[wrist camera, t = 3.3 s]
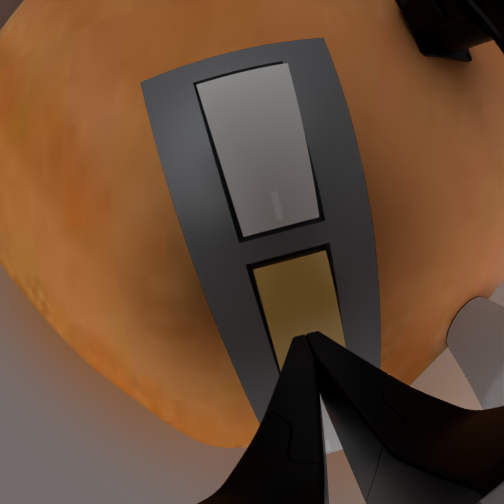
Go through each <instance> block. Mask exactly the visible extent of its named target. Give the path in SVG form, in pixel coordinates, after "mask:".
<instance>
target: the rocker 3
mask: <svg viewBox="0 0 504 504" xmlns="http://www.w3.org/2000/svg"><path fill="white" fill-rule="evenodd" d="M320 400H321V409H322V418H323V428H324V439H325V450H326V454H328V453H331V452H335V451H338V450H342V449H343V448H342V446H341V443H340V441H339V439H338V436H337V434H336V432H335V429H334V427H333V425H332V422H331V420H330V418H329V415H328V413H327V411H326V408H325V406H324V404H323V401H322V399H321V396H320Z"/></svg>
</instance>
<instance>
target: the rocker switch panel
mask: <svg viewBox="0 0 504 504" xmlns="http://www.w3.org/2000/svg"><path fill="white" fill-rule="evenodd" d="M285 63H288V66H289V70H290V74H291V78H292V81H293V85H294V89H295V94H296V98H297V102H298V106H299V111H300V115H301V119H302V124H303V129H304V133H305V138H306V143H307V148H308V153H309V159H310V164H311V169H312V175H313V181H314V186H315V192H316V199H317V205H318V212H319V217H318V218H314V219H310V220H306V221H302V222H298V223H295V224H291V225H287V226H283V227H279V228H275V229H272V230H268V231H264V232H260V233H257V234H253V235H249V236H245V237H243V233H242V230H241V227H240V224H239V221H238V217H237V214H236V211H235V208H234V205H233V201H232V198H231V195H230V192H229V189H228V185H227V182H226V179H225V176H224V173H223V169H222V166H221V163H220V160H219V157H218V153H217V150H216V147H215V144H214V141H213V137H212V134H211V131H210V128H209V124H208V121H207V118H206V115H205V112H204V108H203V105H202V102H201V99H200V95H199V92H198V89H197V86H196V85H197V84H201V83H204V82H207V81H210V80H214V79H217V78H221V77H225V76H228V75H232V74H236V73H240V72H245V71H249V70H254V69H258V68H263V67H268V66H274V65H279V64H285ZM141 87H142V91H143V95H144V100H145V104H146V108H147V112H148V116H149V120H150V124H151V128H152V132H153V135H154V139H155V143H156V146H157V150H158V154H159V157H160V161H161V164H162V168H163V171H164V175H165V178H166V181H167V185H168V188H169V191H170V194H171V198H172V201H173V204H174V207H175V210H176V213H177V217H178V220H179V223H180V226H181V229H182V232H183V235H184V238H185V241H186V244H187V247H188V249H189V252H190V255H191V258H192V261H193V264H194V266H195V269H196V272H197V275H198V278H199V280H200V283H201V286H202V288H203V291H204V294H205V296H206V299H207V302H208V304H209V307H210V309H211V312H212V315H213V317H214V320H215V322H216V325H217V327H218V330H219V332H220V335H221V337H222V340H223V342H224V344H225V347H226V349H227V352H228V354H229V356H230V359H231V361H232V363H233V366H234V368H235V370H236V373H237V375H238V377H239V379H240V382H241V384H242V386H243V388H244V391H245V393H246V395H247V397H248V399H249V402H250V404H251V406H252V408H253V410H254V412H255V415H256V417H257V419H258V421H259V423H260V424H261V422H262V419H263V417H264V414H265V412H266V410H267V407H268V404H269V402H270V399H271V397H272V394H273V391H274V389H275V386H276V383H277V381H278V378H279V375H280V372H281V371H280V367H279V363H278V360H277V356H276V352H275V349H274V345H273V341H272V338H271V334H270V330H269V327H268V323H267V319H266V316H265V312H264V308H263V304H262V301H261V297H260V293H259V290H258V286H257V282H256V278H255V275H254V271H253V269H254V266H255V265H256V264H260V263H264V262H268V261H271V260H275V259H279V258H283V257H287V256H290V255H294V254H298V253H302V252H305V251H309V250H313V249H316V248H318V249H322V250H326V253H327V257H328V261H329V266H330V270H331V275H332V279H333V284H334V288H335V293H336V298H337V303H338V308H339V313H340V318H341V324H342V329H343V335H344V340H345V346H346V349H348V350H350V351H351V352H353V353H355V354H356V355H358V356H359V357H361V358H363V359H364V360H366V361H368V362H369V363H371V364H372V365H374V366H376V367H377V368H379V369H380V356H381V324H380V297H379V281H378V268H377V258H376V248H375V239H374V232H373V224H372V217H371V211H370V204H369V198H368V193H367V187H366V182H365V177H364V172H363V167H362V162H361V158H360V153H359V149H358V145H357V140H356V136H355V132H354V129H353V125H352V121H351V117H350V114H349V110H348V107H347V103H346V100H345V97H344V94H343V90H342V87H341V84H340V81H339V78H338V75H337V72H336V70H335V67H334V64H333V61H332V58H331V56H330V53H329V50H328V48H327V45H326V43H325V40H324V38H315V39H304V40H295V41H288V42H281V43H274V44H268V45H262V46H257V47H252V48H247V49H243V50H238V51H234V52H230V53H226V54H222V55H218V56H215V57H211V58H207V59H204V60H201V61H197V62H194V63H191V64H188V65H185V66H182V67H179V68H176V69H174V70H171V71H168V72H165V73H163V74H160V75H158V76H155V77H153V78H150V79H148V80H145V81H143V82H141Z"/></svg>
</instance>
